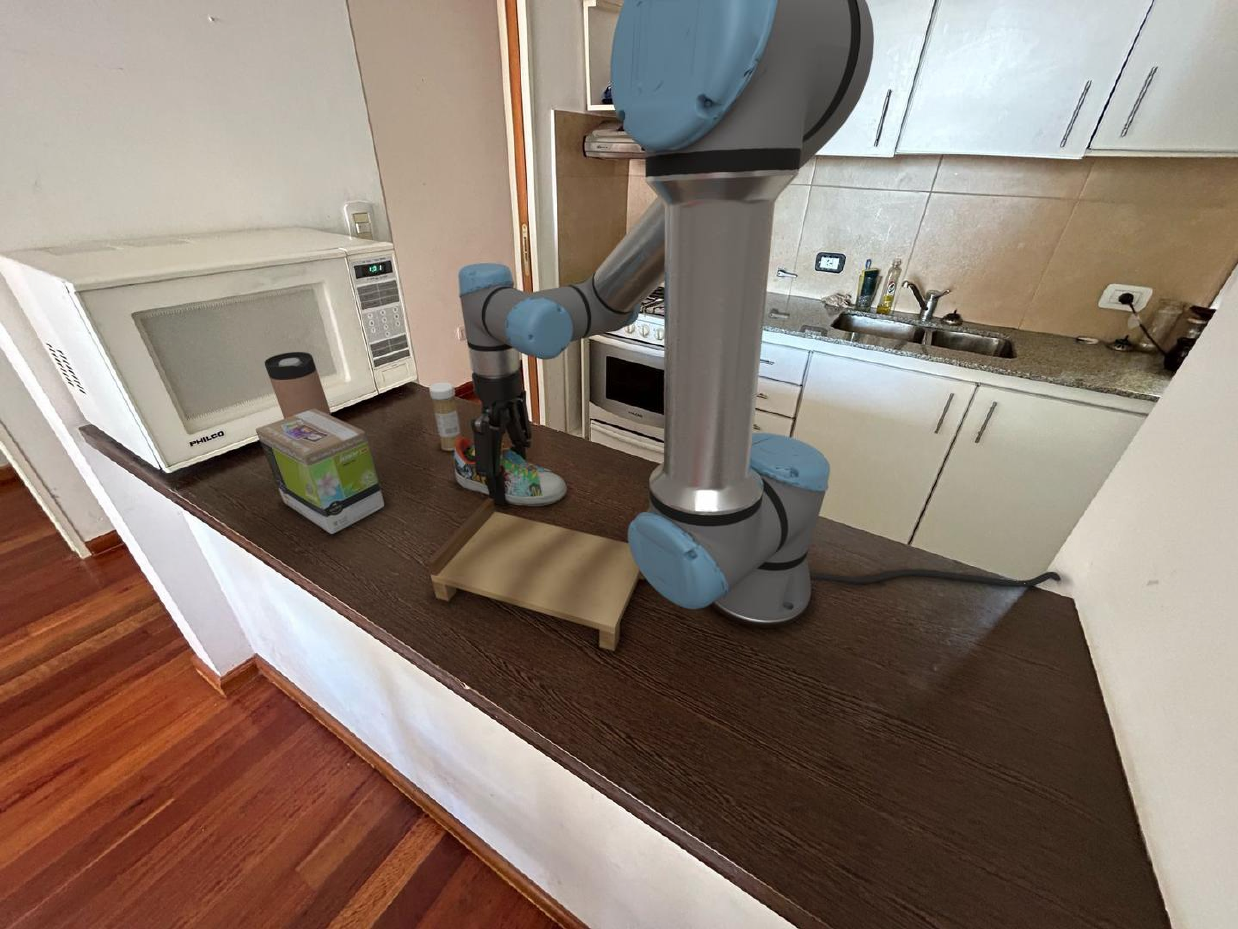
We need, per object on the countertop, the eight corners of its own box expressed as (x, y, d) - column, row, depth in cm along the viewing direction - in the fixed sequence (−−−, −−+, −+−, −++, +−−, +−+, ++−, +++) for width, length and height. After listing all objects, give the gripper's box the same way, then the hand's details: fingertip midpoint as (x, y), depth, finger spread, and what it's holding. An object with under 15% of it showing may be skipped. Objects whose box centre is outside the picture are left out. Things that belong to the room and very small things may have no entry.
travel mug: (304, 448, 103) (269, 353, 92) (345, 443, 105) (316, 349, 94) (295, 468, 97) (258, 368, 86) (340, 462, 99) (308, 364, 88)
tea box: (387, 506, 87) (366, 429, 80) (331, 537, 80) (302, 456, 72) (338, 477, 94) (314, 405, 87) (282, 504, 87) (251, 427, 80)
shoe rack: (647, 570, 75) (650, 535, 72) (614, 651, 63) (615, 613, 60) (493, 531, 82) (488, 497, 78) (436, 597, 70) (427, 561, 66)
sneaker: (555, 515, 86) (551, 466, 81) (446, 491, 92) (436, 444, 87) (573, 491, 92) (570, 444, 87) (470, 469, 98) (462, 424, 93)
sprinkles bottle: (464, 440, 107) (454, 380, 100) (463, 451, 103) (453, 389, 96) (441, 442, 106) (429, 382, 99) (440, 453, 102) (427, 391, 95)
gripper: (507, 346, 89) (518, 458, 101) (435, 391, 72) (459, 518, 84) (546, 352, 87) (553, 466, 99) (481, 399, 70) (499, 528, 82)
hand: (509, 490), depth 92 cm, fingers closed on sneaker, 7 cm apart
